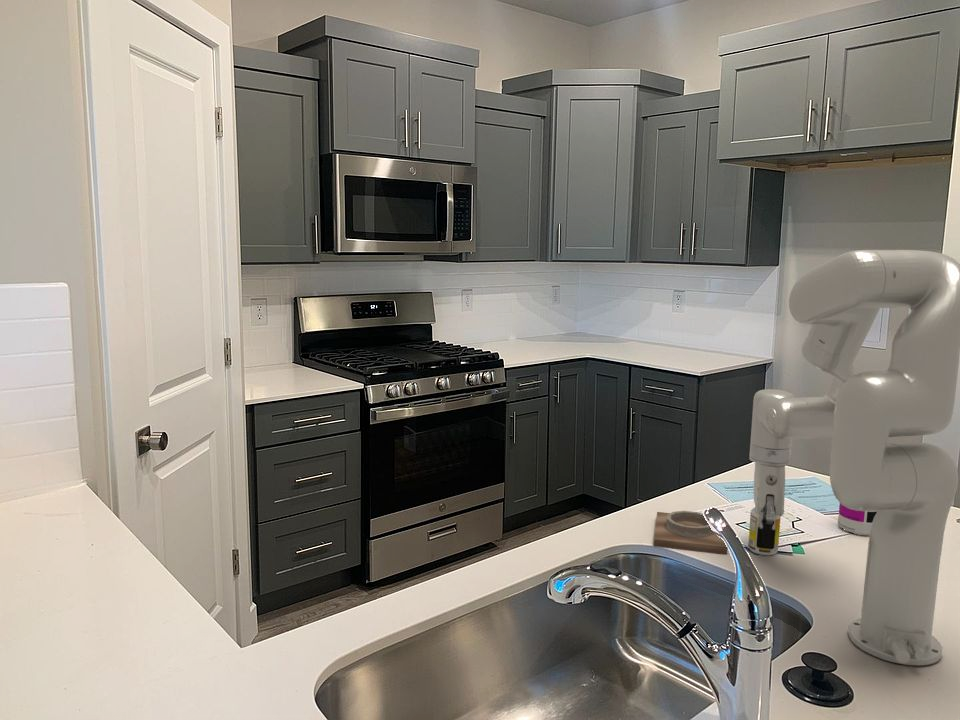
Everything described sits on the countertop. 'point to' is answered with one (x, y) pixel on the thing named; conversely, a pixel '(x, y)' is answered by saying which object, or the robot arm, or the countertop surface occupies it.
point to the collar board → (686, 532)
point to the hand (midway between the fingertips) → (763, 540)
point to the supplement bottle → (753, 533)
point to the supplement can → (855, 520)
